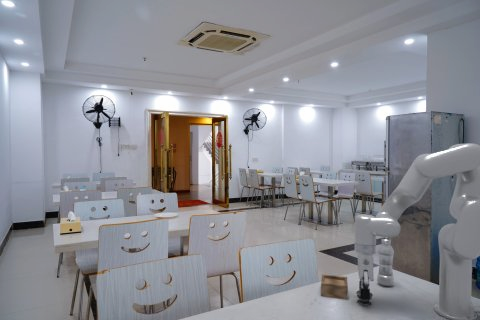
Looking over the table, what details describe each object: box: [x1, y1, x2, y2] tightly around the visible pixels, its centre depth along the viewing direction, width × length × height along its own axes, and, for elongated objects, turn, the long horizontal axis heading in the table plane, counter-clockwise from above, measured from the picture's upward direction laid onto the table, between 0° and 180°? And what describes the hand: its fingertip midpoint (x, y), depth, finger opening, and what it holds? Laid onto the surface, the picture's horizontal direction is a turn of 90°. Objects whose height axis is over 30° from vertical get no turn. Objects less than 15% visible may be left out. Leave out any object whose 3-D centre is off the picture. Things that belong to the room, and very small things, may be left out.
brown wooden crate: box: [320, 273, 349, 301], centre depth 132 cm, size 10×10×5 cm
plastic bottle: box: [377, 237, 395, 287], centre depth 140 cm, size 6×7×20 cm
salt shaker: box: [355, 278, 374, 307], centre depth 123 cm, size 6×6×12 cm
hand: (364, 294), depth 123 cm, fingers closed on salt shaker, 5 cm apart
